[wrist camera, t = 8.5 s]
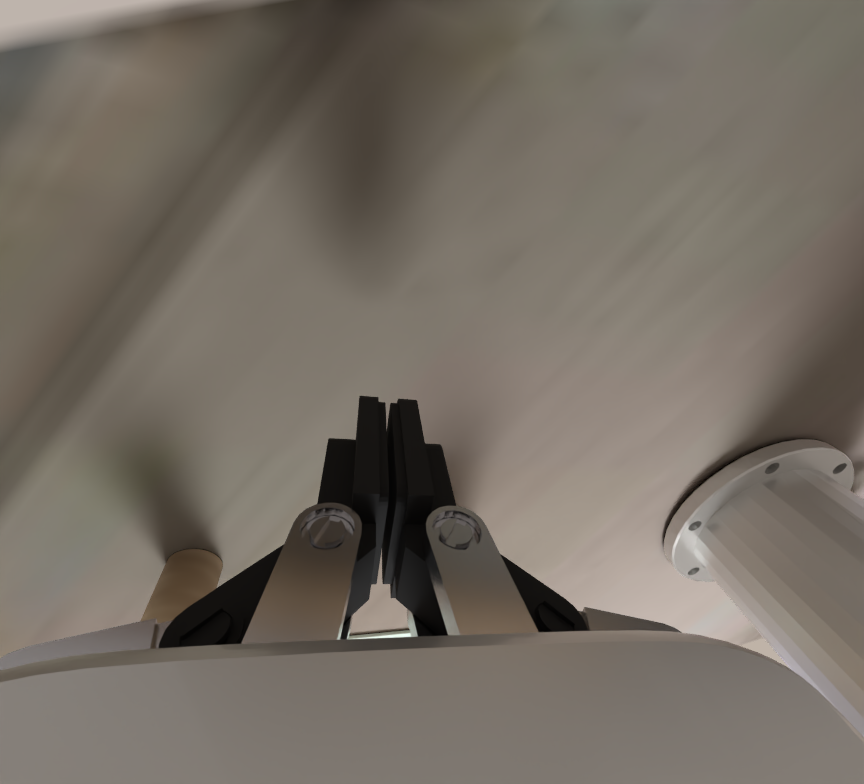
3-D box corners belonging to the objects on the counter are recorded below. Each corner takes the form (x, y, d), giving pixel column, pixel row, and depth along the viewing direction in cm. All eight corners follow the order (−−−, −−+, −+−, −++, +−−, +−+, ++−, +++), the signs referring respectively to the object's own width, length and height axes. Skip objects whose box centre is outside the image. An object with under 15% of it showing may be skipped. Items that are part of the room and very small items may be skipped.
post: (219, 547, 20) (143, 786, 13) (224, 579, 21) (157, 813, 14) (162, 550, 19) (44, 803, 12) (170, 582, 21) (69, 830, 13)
